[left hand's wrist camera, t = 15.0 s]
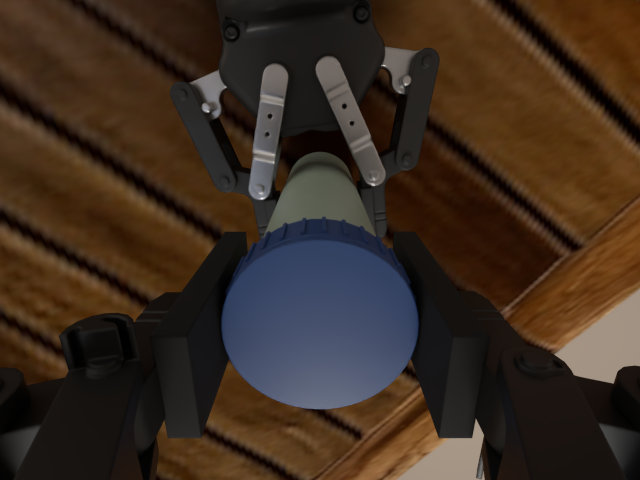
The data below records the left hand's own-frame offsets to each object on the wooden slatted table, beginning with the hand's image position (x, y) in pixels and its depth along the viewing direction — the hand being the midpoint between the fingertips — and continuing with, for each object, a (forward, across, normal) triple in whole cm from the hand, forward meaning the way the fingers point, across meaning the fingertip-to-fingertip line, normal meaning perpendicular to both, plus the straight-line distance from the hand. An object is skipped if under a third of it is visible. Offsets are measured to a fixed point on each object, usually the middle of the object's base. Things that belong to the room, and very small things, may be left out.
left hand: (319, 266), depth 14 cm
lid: (-4, 0, 0) cm, 4 cm away
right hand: (+9, 0, -3) cm, 9 cm away
